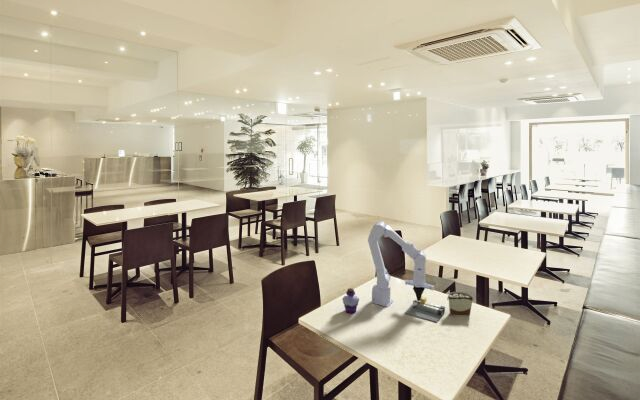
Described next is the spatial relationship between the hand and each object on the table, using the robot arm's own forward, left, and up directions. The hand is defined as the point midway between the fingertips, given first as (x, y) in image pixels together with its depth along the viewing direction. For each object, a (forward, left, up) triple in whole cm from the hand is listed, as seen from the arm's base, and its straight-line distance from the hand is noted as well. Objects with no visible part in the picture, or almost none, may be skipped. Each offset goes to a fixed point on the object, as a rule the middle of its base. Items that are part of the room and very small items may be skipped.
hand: (418, 299), depth 173 cm
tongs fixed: (+5, 0, -3) cm, 6 cm away
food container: (+18, +4, -4) cm, 19 cm away
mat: (+4, -5, -4) cm, 8 cm away
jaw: (+5, -3, -3) cm, 7 cm away
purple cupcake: (-28, -24, -4) cm, 36 cm away
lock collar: (+2, 0, -1) cm, 2 cm away
